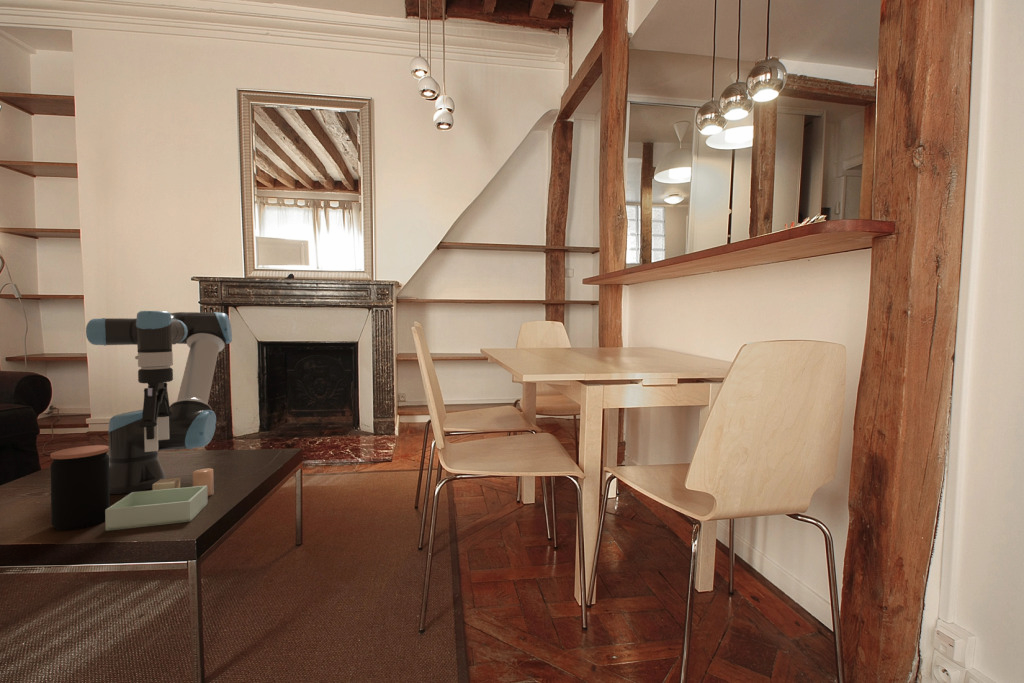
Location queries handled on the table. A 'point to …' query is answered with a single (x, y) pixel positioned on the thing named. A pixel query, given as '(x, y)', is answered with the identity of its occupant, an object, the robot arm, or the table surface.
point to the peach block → (204, 479)
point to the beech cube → (166, 484)
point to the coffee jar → (79, 487)
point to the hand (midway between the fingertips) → (157, 445)
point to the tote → (156, 507)
